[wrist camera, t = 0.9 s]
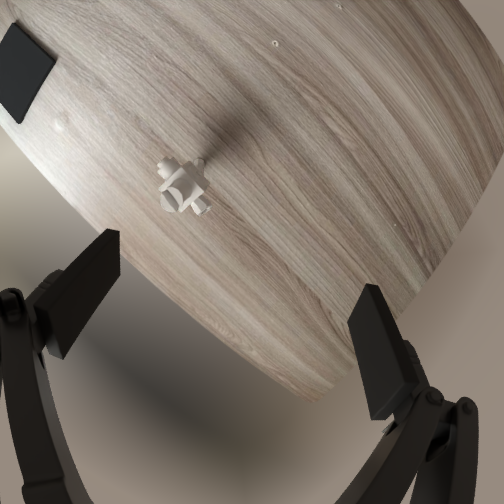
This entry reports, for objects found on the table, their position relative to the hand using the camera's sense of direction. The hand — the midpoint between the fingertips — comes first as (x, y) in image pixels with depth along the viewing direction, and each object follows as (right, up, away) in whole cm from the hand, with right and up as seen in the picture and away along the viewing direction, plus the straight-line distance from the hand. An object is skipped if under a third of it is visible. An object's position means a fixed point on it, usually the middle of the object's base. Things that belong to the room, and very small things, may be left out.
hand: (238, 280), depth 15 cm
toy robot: (-6, +12, +23) cm, 26 cm away
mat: (-38, +31, +15) cm, 51 cm away
